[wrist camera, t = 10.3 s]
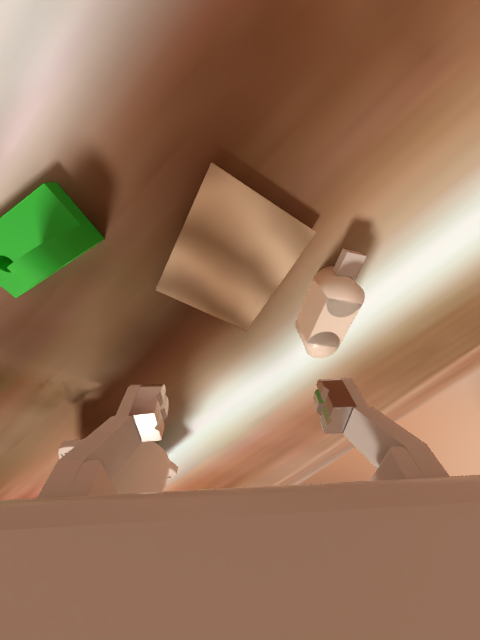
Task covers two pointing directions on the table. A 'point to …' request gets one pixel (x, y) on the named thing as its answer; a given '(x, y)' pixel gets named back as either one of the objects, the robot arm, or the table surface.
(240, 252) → the birch board
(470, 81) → the table surface
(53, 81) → the table surface
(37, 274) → the mechanical part
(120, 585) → the robot arm
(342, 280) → the connector
